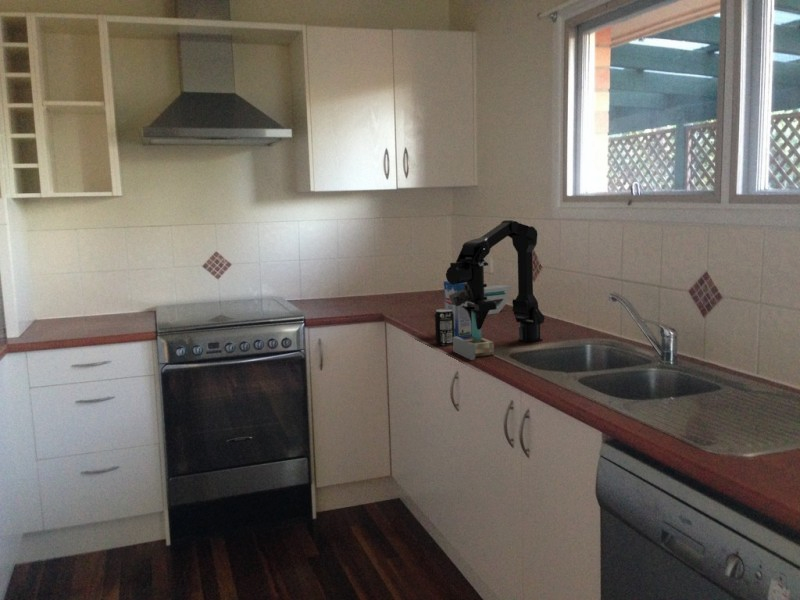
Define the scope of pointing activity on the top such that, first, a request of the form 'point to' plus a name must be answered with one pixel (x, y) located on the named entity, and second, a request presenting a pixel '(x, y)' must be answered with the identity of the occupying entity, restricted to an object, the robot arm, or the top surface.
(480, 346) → the sliding block
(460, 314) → the milk carton
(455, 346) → the wall
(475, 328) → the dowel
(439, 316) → the beverage can
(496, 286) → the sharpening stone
